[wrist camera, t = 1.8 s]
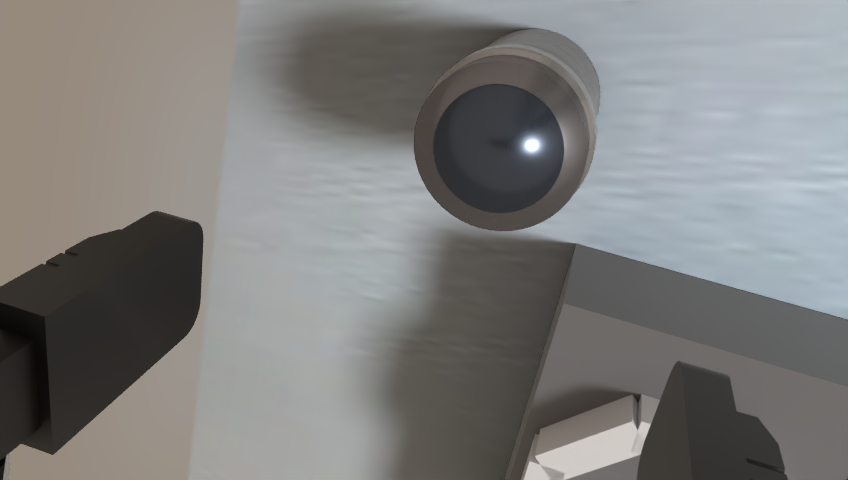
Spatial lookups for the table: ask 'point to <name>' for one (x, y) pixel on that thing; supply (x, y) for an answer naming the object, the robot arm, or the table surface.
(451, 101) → the lens
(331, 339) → the table surface
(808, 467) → the camera body
